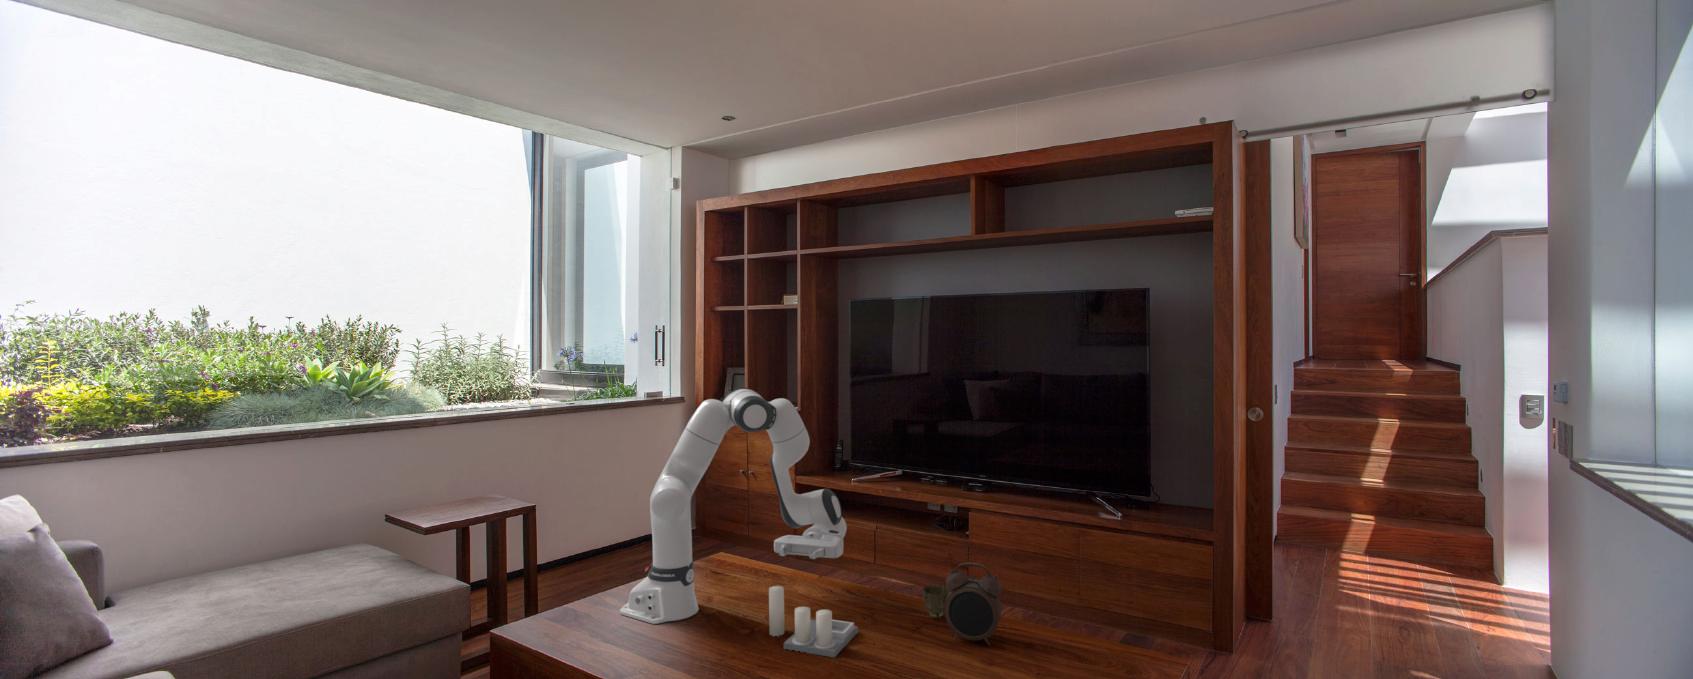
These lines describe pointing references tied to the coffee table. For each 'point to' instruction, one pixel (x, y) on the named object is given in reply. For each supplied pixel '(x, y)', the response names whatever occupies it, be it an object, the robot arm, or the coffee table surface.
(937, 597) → the cup
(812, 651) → the pin board
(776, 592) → the ivory pin
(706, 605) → the coffee table surface
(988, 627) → the alarm clock
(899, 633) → the coffee table surface
